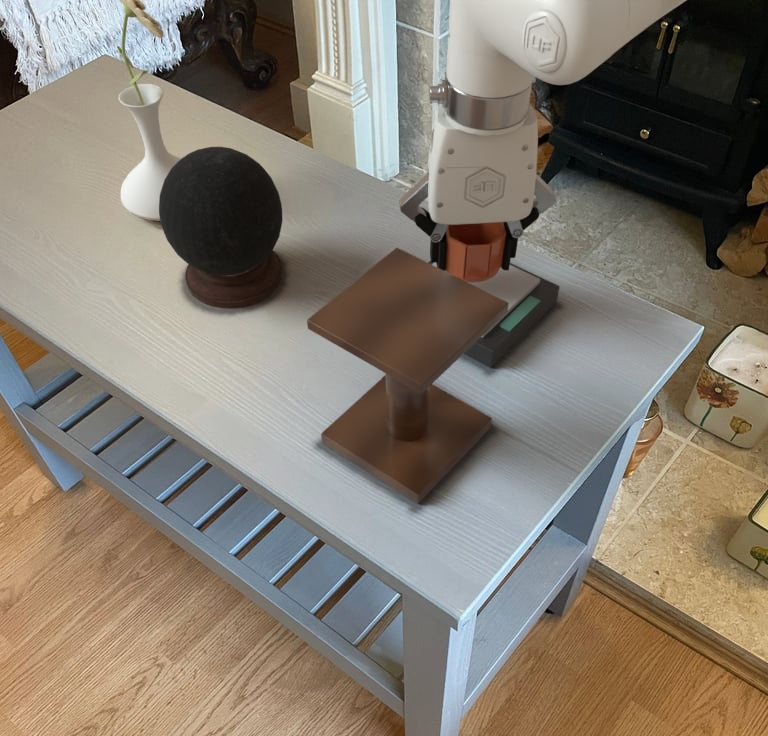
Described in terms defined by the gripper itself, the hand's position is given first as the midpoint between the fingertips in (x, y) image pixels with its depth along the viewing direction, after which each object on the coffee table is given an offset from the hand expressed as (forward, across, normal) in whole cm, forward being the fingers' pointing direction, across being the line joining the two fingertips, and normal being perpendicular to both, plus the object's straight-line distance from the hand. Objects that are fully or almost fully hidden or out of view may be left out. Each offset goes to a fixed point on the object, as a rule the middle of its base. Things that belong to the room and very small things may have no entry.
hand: (471, 262), depth 86 cm
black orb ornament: (+6, -26, +8) cm, 28 cm away
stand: (+6, -8, -18) cm, 21 cm away
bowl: (0, 0, 0) cm, 0 cm away
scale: (+6, 0, 0) cm, 6 cm away
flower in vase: (+6, -36, +24) cm, 43 cm away
